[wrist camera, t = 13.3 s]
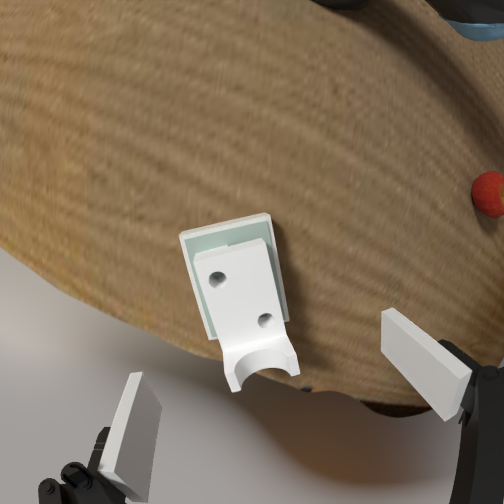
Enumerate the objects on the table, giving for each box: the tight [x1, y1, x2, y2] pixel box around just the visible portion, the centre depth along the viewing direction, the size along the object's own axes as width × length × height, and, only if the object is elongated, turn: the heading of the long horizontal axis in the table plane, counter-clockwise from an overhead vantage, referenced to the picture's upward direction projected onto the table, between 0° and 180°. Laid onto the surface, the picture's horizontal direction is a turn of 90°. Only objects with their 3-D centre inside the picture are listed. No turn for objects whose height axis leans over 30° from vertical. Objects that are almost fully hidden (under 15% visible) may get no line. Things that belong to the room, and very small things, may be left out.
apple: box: [472, 171, 504, 218], centre depth 33 cm, size 8×8×8 cm
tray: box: [179, 213, 290, 340], centre depth 33 cm, size 10×13×3 cm
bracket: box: [193, 238, 300, 392], centre depth 28 cm, size 13×7×8 cm, turn 15°
